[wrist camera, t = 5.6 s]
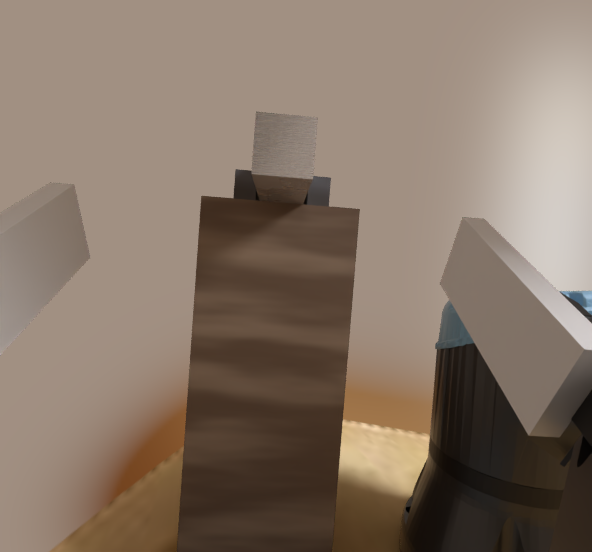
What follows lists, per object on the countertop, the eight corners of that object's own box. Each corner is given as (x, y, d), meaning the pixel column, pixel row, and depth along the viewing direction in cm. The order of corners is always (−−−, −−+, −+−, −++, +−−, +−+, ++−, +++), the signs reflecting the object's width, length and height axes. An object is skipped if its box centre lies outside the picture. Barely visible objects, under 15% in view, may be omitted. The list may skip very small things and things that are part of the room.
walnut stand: (328, 598, 28) (361, 180, 27) (173, 592, 27) (203, 166, 27) (310, 476, 44) (331, 211, 43) (212, 471, 43) (231, 202, 43)
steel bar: (312, 179, 19) (317, 117, 19) (251, 174, 19) (256, 111, 19) (295, 222, 39) (297, 192, 39) (265, 220, 39) (267, 190, 39)
